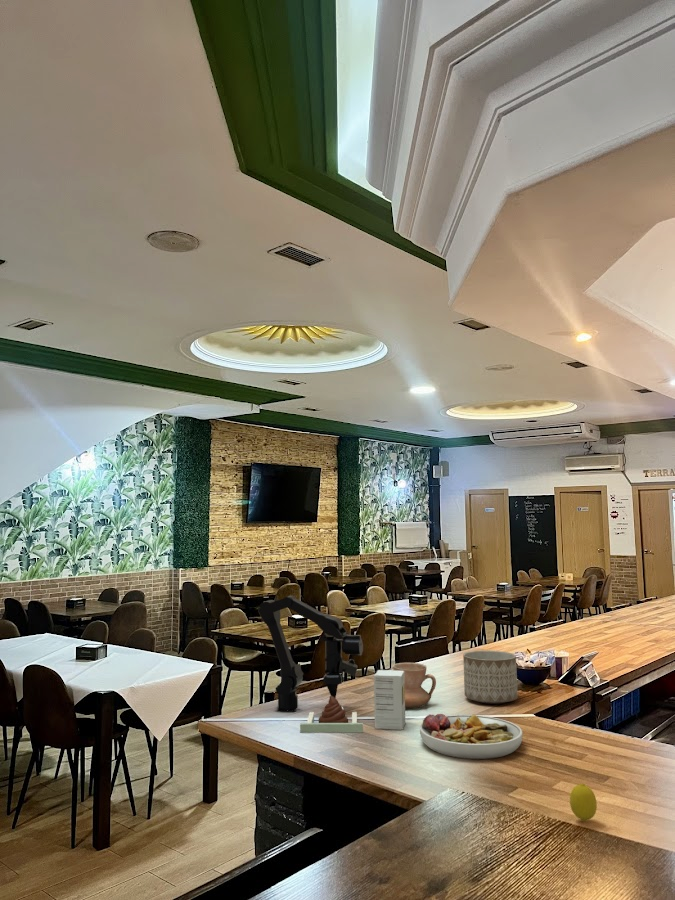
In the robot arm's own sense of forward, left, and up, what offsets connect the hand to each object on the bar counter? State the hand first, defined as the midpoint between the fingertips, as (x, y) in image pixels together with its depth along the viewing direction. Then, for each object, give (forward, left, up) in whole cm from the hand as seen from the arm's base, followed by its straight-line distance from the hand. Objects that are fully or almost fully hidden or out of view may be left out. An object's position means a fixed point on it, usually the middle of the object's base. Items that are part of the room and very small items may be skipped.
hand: (333, 699), depth 239 cm
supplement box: (+19, -16, -5) cm, 25 cm away
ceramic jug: (+28, +9, -5) cm, 30 cm away
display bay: (0, -15, -4) cm, 16 cm away
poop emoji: (0, -15, -5) cm, 15 cm away
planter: (+58, +16, -5) cm, 60 cm away
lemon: (+58, -89, -5) cm, 106 cm away
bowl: (+42, -36, -5) cm, 55 cm away
